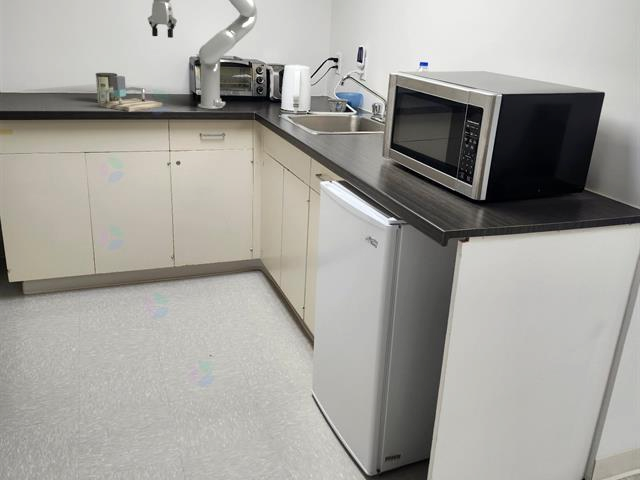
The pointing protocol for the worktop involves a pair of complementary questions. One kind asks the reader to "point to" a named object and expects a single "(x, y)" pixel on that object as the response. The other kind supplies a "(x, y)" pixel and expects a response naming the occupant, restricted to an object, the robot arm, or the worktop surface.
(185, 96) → the worktop surface
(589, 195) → the worktop surface
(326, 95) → the worktop surface
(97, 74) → the coffee can
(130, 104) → the hole plate
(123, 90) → the block
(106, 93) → the divider frame
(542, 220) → the worktop surface
